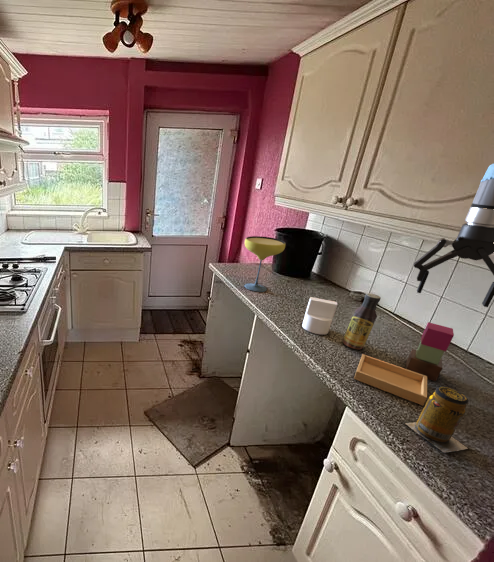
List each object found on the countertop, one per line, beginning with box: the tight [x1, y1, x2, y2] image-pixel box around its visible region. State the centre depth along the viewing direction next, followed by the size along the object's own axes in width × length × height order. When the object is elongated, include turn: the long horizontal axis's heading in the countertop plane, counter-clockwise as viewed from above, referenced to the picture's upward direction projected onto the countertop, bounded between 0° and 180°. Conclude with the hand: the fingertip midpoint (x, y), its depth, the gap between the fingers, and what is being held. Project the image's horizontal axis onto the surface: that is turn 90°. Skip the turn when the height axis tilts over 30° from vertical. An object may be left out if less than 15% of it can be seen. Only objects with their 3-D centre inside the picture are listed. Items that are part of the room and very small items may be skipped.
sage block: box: [416, 341, 445, 365], centre depth 96 cm, size 5×5×5 cm
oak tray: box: [353, 353, 428, 407], centre depth 93 cm, size 16×13×3 cm
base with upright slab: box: [301, 296, 338, 336], centre depth 120 cm, size 9×9×12 cm
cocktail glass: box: [243, 235, 286, 293], centre depth 155 cm, size 18×18×25 cm
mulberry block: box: [420, 321, 455, 352], centre depth 94 cm, size 6×6×6 cm
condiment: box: [404, 386, 469, 453], centre depth 72 cm, size 7×8×12 cm
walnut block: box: [405, 348, 443, 382], centre depth 97 cm, size 7×7×5 cm
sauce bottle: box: [342, 292, 381, 351], centre depth 107 cm, size 6×6×20 cm
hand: (450, 298), depth 89 cm, fingers open, 13 cm apart
